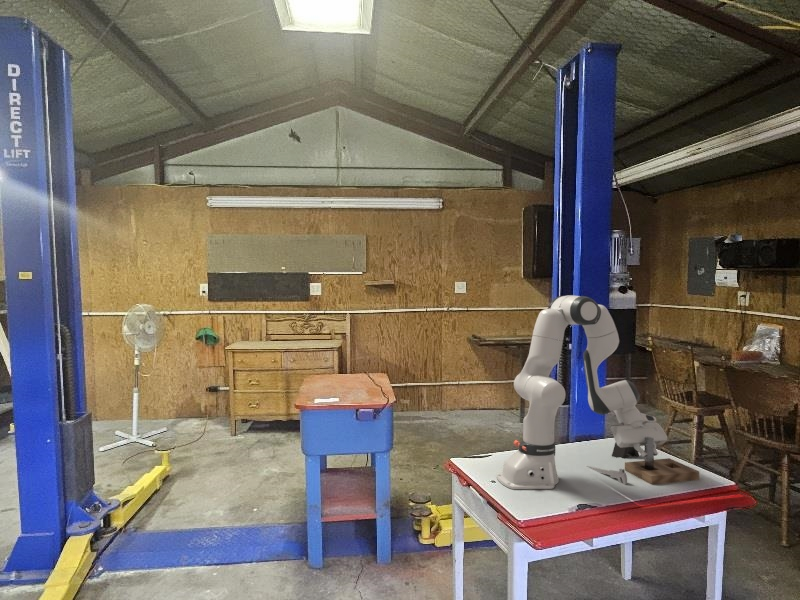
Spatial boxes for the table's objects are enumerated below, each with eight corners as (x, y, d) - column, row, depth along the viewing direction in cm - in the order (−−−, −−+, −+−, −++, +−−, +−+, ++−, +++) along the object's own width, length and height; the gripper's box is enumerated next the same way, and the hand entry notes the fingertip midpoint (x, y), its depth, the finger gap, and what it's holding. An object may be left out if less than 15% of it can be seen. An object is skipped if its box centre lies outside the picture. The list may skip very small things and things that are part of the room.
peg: (648, 477, 173) (648, 439, 172) (642, 474, 175) (642, 437, 175) (655, 477, 173) (655, 439, 173) (649, 474, 176) (649, 436, 176)
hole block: (651, 487, 166) (651, 476, 166) (624, 472, 180) (624, 462, 180) (699, 482, 171) (699, 471, 171) (669, 468, 184) (669, 458, 184)
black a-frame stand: (629, 453, 201) (629, 426, 201) (639, 458, 196) (639, 429, 196) (611, 456, 199) (611, 427, 199) (622, 460, 193) (622, 431, 193)
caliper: (627, 488, 167) (627, 470, 167) (625, 488, 166) (625, 470, 166) (586, 468, 186) (586, 452, 186) (584, 468, 186) (584, 452, 186)
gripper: (612, 419, 179) (629, 453, 169) (658, 416, 183) (678, 449, 174) (604, 428, 183) (621, 461, 174) (650, 424, 187) (669, 457, 178)
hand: (650, 455), depth 174 cm, fingers closed on peg, 3 cm apart
